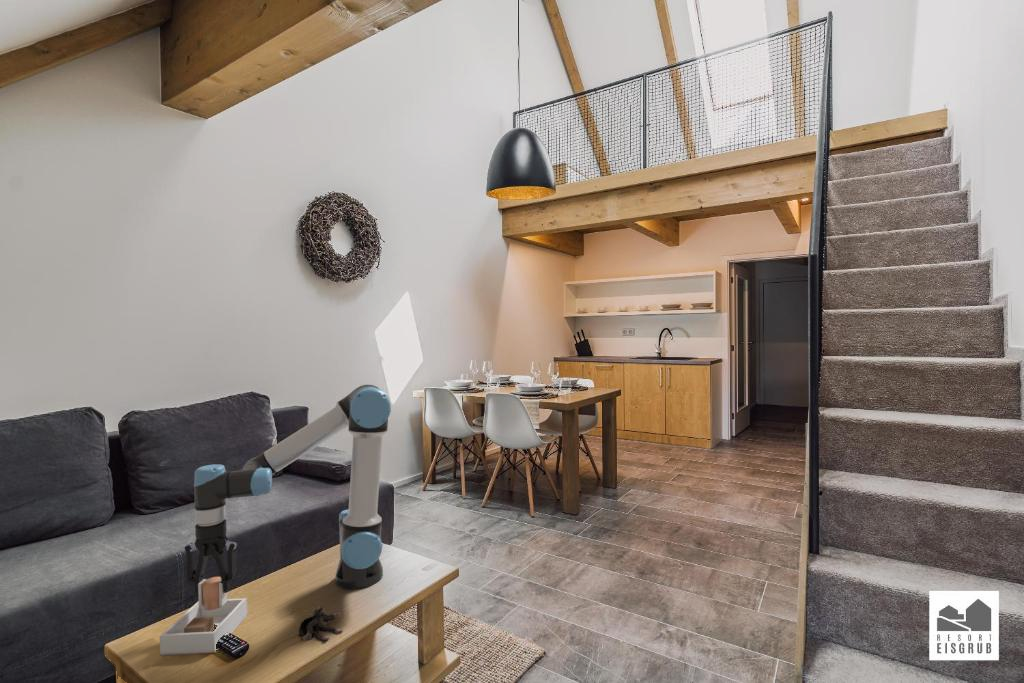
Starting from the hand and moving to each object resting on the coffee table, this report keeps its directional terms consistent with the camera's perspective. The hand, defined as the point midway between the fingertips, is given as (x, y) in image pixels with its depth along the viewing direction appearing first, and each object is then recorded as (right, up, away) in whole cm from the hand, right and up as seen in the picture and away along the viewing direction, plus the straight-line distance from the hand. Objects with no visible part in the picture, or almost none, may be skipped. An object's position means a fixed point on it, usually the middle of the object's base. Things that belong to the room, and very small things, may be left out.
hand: (213, 603), depth 144 cm
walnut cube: (+1, -6, -8) cm, 10 cm away
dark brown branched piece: (+31, -6, -3) cm, 32 cm away
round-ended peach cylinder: (0, -1, 0) cm, 1 cm away
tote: (0, -6, -4) cm, 7 cm away
